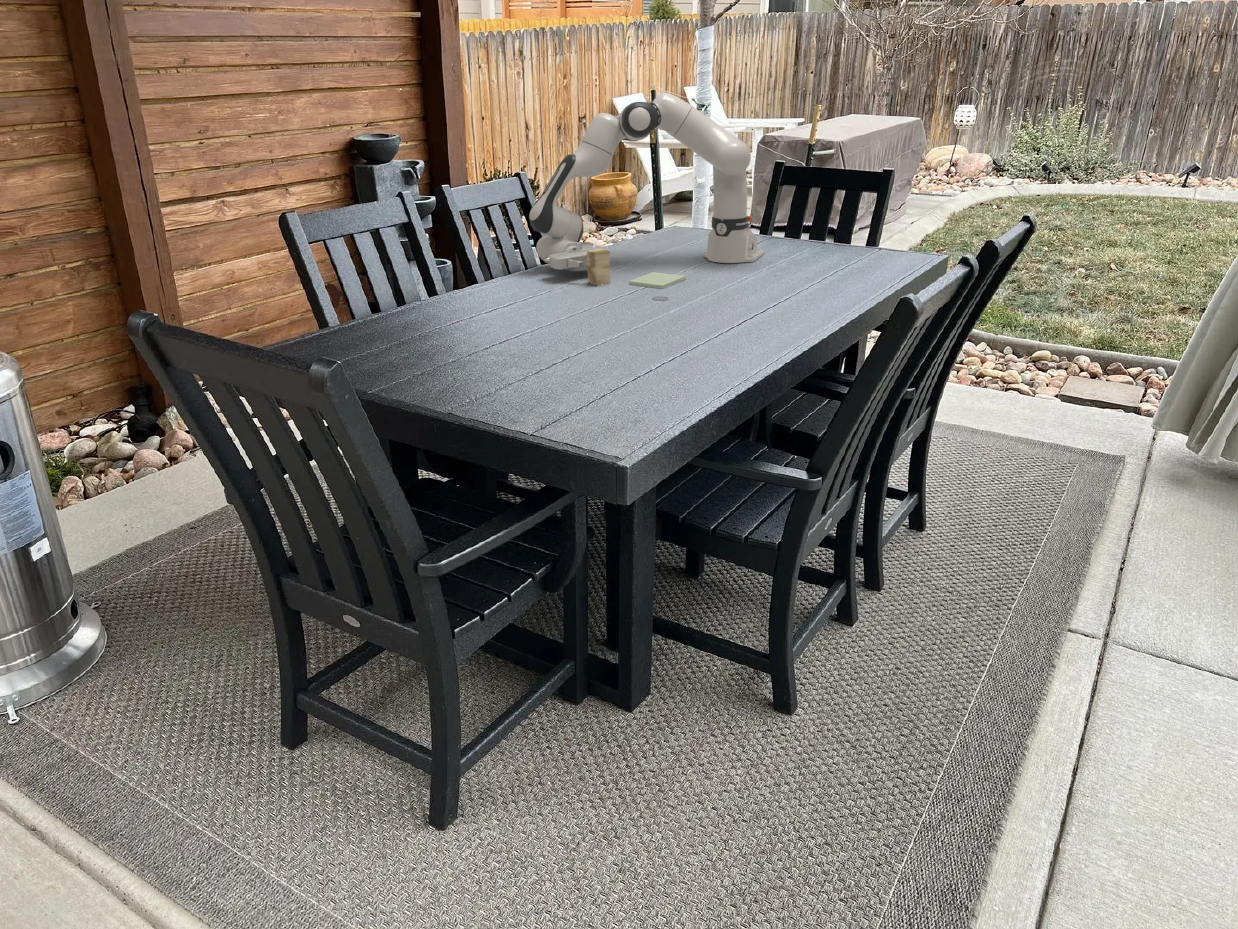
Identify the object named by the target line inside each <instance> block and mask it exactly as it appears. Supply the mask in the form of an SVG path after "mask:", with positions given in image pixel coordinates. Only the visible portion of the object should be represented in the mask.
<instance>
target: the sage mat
mask: <svg viewBox="0 0 1238 929" xmlns="http://www.w3.org/2000/svg"><path fill="white" fill-rule="evenodd" d="M686 278H687V276H686V275H682V274H671V273H663V272H654V271H652V272H650V273H647V274H644V275H641V276H639V277H636V278H633V279H631V280H629V281H628V285H631V286H638V287H646V288H654V289H661V290H663V289H666V288H668V287H670V286H673V285H675V284H678V283H680V282H682V281H685V280H686Z"/></svg>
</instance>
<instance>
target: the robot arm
mask: <svg viewBox="0 0 1238 929" xmlns="http://www.w3.org/2000/svg"><path fill="white" fill-rule="evenodd" d="M655 129H659V130H661V131H664V132H666V133H667V134H668V135H670V137H672V138H674V139H675V140H677V141H678V142H680V143H681V144H683V145H684V146H685V147H687V148H688V149H689V150H691V151H692V152H694V153H696V155H698V156H699V157H701V158H702V159H703V160H704V161H706V162H707V163H709V164H711V165H712V177H713V178H712V182H713V183H712V184H713V186H712V187H713V203H712V204H713V208H712V209H713V211H712V212H713V214H712V217H711V228H712V229H711V231H709V233H708V235H707V236H708V237H707V245H706V246H707V247H706V252H705V253H703V257H704V258H706V259H707V260H708V261H709V262H714V263H718V264H719V263H722V264H739V263H754V262H756V261H757V260H758V259H759V258H760V257H762V256H763V255H764V254H765V251H764V250H762V249H758V237H757V236H756V234H754V232H753V231H752V230H751V229H750V228H749V227H750V223H752V219H753V217H752V215H747V209H748V184H747V169H748V168H749V167H750V166H749V165H750V163H751V158H752V157H751V155H752V154H751V150H750V148H749V147H748V145H747V144H746V142H744V141H743V140H741V139H740V138H738V137H737V136H735V135H734V134H732V133H731V132H729V131H728V130H727V129H725V128H724V127H722V126H721V125H720V124H718V123H717V122H716V121H714V120H712V119H711V118H710V117H708V116H707V115H706V114H704V113H703V112H702V111H700V110H698V109H697V108H696V107H694V106H693V105H692V104H690V103H689V102H687V101H686V100H684V99H682V98H680V97H678V96H676V95H674V94H671V93H669V92H662V93H660V94H658V95H657V96H656V97H655V98H654V99H653V100H652V102H648V101H645V102H644V101H634V102H631V103H629V104H628V105H626V106H625V107H624V108H623V109H622V110H621V112H620V113H618V114H617V115H613V114H610V113H606V112H600V113H597V114H596V115H594V117H593V119H592V120H591V122H590V124H589V125H588V127H587V128H586V131H585V132H584V134H583V137H582V139H581V141H580V143H579V146H578V147H577V148H576V150H575V151H574V152H573V153H571V154H567V155H566V156H565V157H564V158H563V159H562V160H561V162H560V163H559V164H558V167H557V168H556V169H555V171H554V173H553V174H552V176H551V178H550V180H548V181H549V182H548V183H547V185H546V186H545V188H544V190H543V191H542V193H541V195H540V196H539V197H538V199H537V200H536V201H535V203H534V204H533V205H532V207H531V208H530V210H529V213H528V219H529V224H530V225H531V227H532V229H533V231H535V232H538V233H541V234H543V235H544V236H542V237H540V238H539V240H538V241H537V243H536V247H535V248H536V249H535V250H536V253H537V255H538V257H539V258H540V259H541V260H542V261H543V262H544V263H546V264H548V266H549V267H550V268H552V269H554V270H558V271H559V270H568V271H574V270H577V269H578V268H582V267H583V266H584V267H585V266H587V250H594V249H600V248H601V249H604V250H608V251H610V249H609V248H607V247H603V246H601V245H595V243H594V242H590V241H588V242H583V241H581V240H582V237H583V234H584V221H583V218H582V217H581V216H580V215H579V214H577V213H575V212H573V211H571V210H568V209H566V208H563V207H561V206H559V205H557V202H558V200H559V199H560V197H561V196H562V193H563V192H564V190H565V188H566V187H567V185H568V183H569V182H570V181H571V180H573V179H575V178H579V177H583V178H585V177H586V178H587V177H588V178H592V177H597V176H600V175H602V174H603V173H605V172H607V170H608V168H609V166H610V164H611V163H612V159H613V157H614V155H615V151H616V150H617V147H618V145H619V143H620V142H621V141H626V142H627V141H628V142H639V141H642V140H644V139H646V138H648V137H649V135H650V134H651V133H652V132H653V131H654V130H655ZM545 234H546V235H545ZM610 252H611V251H610Z"/></svg>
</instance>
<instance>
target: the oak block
mask: <svg viewBox="0 0 1238 929" xmlns="http://www.w3.org/2000/svg"><path fill="white" fill-rule="evenodd" d="M586 267H587V283H588V282H590V283H592V284H595V285H600V286H602V285H601V284H605V285H609V284H608V283H610V284H611V251H608V250H604V249H601V248H600V249H594V250H587V265H586ZM592 284H591V285H592ZM595 285H594V286H595Z"/></svg>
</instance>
